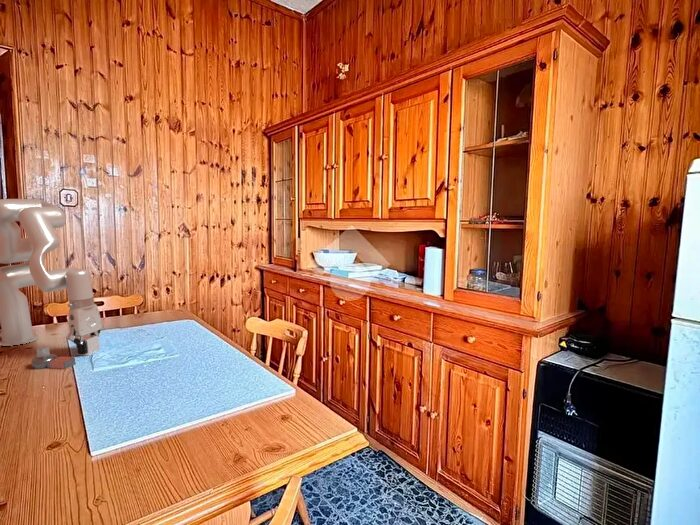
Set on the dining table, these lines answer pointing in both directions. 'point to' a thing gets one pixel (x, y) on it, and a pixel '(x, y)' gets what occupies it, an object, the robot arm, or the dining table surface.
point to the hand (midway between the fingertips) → (88, 350)
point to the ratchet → (51, 360)
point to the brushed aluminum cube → (90, 344)
